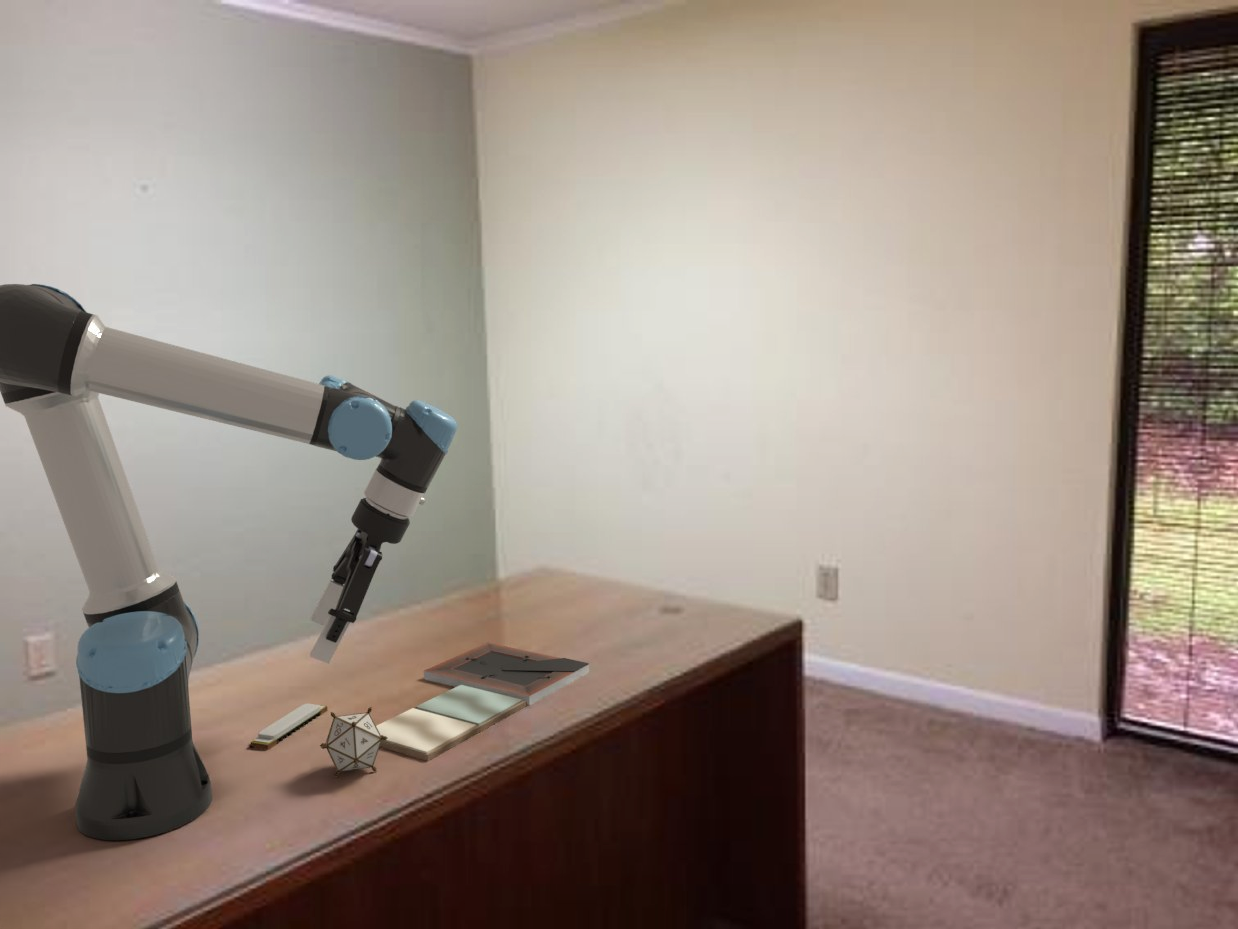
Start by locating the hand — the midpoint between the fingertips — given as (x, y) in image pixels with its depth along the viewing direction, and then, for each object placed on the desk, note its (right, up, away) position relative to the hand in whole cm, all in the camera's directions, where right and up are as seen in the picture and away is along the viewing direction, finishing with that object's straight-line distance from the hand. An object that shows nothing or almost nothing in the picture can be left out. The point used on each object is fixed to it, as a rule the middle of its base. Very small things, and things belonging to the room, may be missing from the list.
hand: (319, 640), depth 146 cm
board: (+17, -13, +6) cm, 22 cm away
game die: (+7, -16, -9) cm, 20 cm away
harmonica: (-6, -14, +5) cm, 16 cm away
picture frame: (+24, -11, +25) cm, 36 cm away
